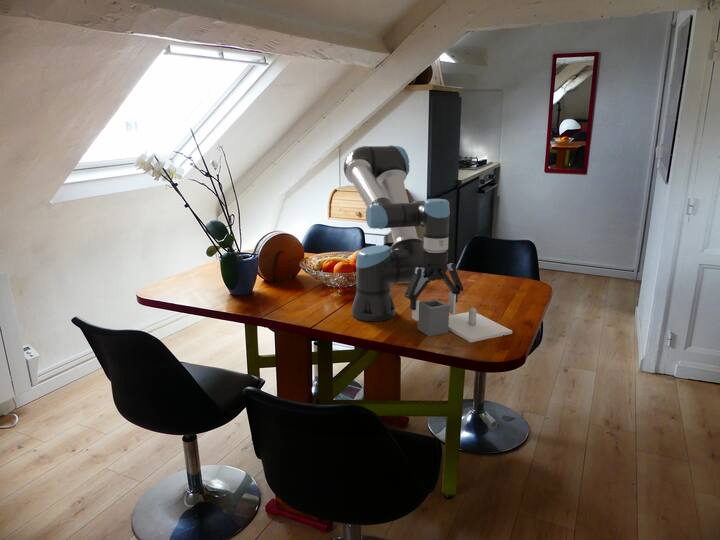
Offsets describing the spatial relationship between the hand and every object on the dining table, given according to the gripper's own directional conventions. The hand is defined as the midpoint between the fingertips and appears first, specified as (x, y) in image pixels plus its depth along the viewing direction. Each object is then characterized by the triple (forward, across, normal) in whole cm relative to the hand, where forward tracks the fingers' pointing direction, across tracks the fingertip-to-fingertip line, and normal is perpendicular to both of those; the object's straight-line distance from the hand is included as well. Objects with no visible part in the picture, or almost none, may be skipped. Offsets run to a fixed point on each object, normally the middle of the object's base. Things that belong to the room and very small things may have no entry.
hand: (433, 316), depth 173 cm
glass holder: (+4, +17, +60) cm, 62 cm away
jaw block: (+5, 0, 0) cm, 5 cm away
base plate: (+5, +13, -2) cm, 14 cm away
